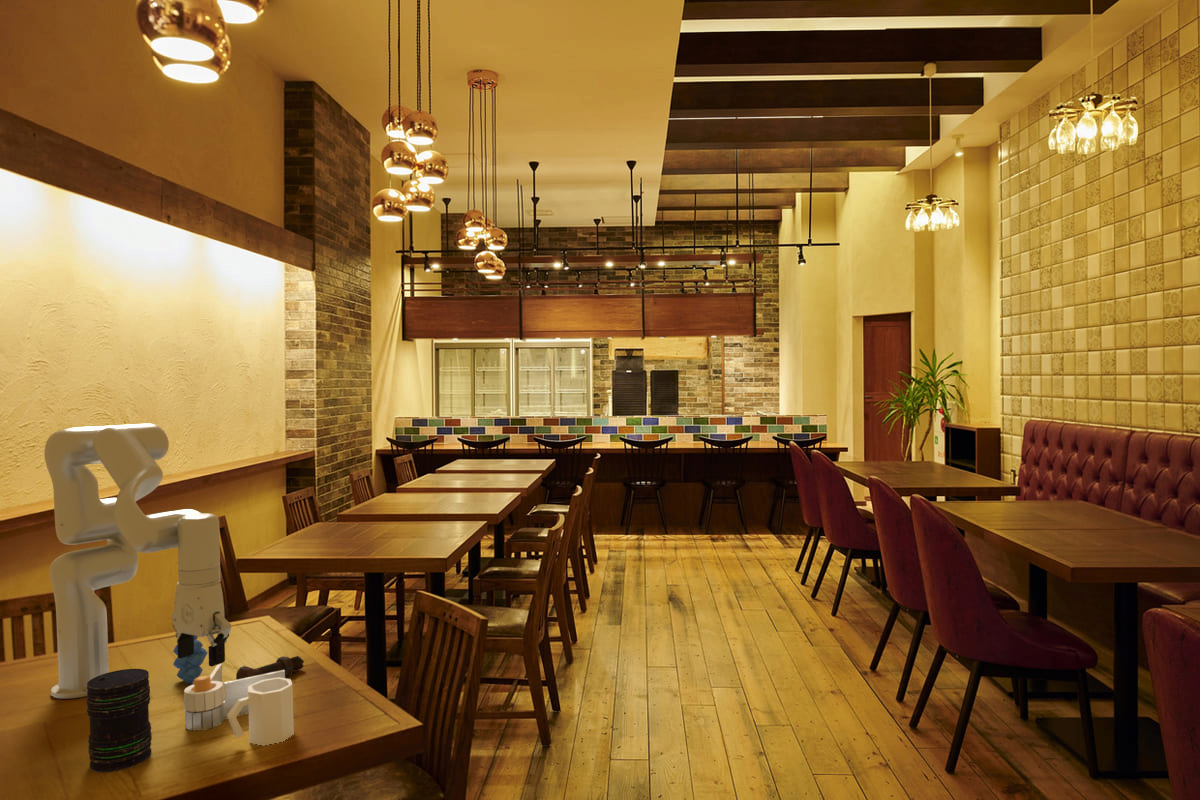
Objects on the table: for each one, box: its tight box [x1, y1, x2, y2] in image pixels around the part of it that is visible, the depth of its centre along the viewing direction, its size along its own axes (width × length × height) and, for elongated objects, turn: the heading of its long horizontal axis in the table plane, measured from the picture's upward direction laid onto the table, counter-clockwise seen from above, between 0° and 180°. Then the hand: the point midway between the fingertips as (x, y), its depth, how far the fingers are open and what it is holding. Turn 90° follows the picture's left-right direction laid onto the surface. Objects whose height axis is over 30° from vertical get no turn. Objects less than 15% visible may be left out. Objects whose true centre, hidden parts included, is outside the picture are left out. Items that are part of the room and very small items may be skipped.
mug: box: [227, 677, 295, 747], centre depth 150 cm, size 12×9×10 cm
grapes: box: [172, 636, 209, 685], centre depth 181 cm, size 12×7×12 cm, turn 52°
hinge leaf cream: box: [183, 663, 225, 712], centre depth 163 cm, size 17×7×7 cm, turn 14°
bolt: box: [235, 655, 305, 680], centre depth 181 cm, size 6×5×15 cm
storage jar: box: [86, 668, 153, 773], centre depth 143 cm, size 10×10×15 cm
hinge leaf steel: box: [184, 670, 286, 732], centre depth 161 cm, size 7×19×7 cm, turn 124°
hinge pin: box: [193, 675, 211, 692], centre depth 158 cm, size 3×3×9 cm
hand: (201, 660), depth 158 cm, fingers open, 9 cm apart
